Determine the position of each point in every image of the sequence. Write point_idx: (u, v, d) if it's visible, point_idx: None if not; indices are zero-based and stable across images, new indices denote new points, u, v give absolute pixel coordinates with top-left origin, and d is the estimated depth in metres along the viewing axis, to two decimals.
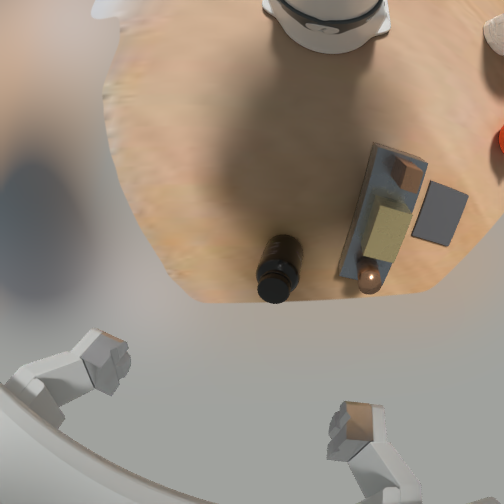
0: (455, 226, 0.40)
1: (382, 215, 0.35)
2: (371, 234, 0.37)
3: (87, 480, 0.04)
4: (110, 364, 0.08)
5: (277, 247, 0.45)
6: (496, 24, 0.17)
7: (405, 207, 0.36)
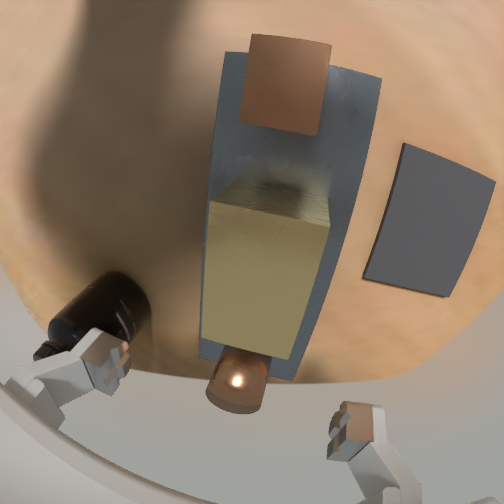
0: (467, 253, 0.17)
1: (223, 232, 0.12)
2: (205, 288, 0.14)
3: (87, 480, 0.04)
4: (110, 364, 0.08)
5: (81, 296, 0.22)
6: None
7: (317, 206, 0.13)
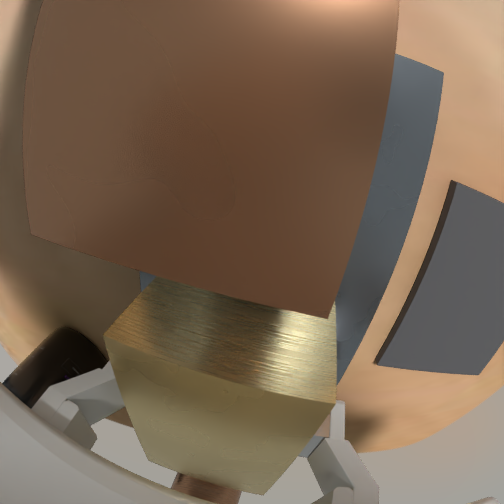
0: None
1: (137, 382, 0.06)
2: (136, 427, 0.07)
3: (87, 480, 0.04)
4: None
5: (30, 360, 0.15)
6: None
7: (316, 324, 0.07)
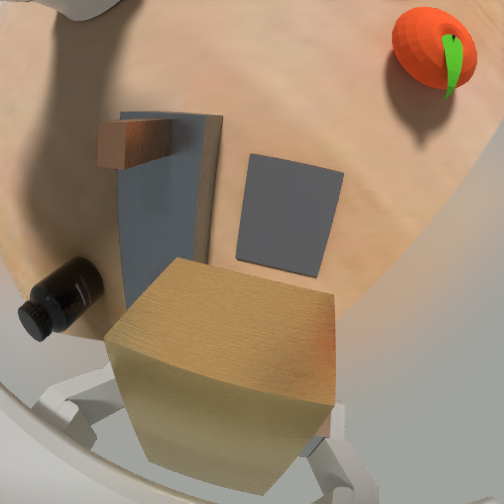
0: (324, 238, 0.25)
1: (138, 384, 0.06)
2: (137, 428, 0.07)
3: (87, 480, 0.04)
4: None
5: (54, 272, 0.29)
6: None
7: (315, 326, 0.07)
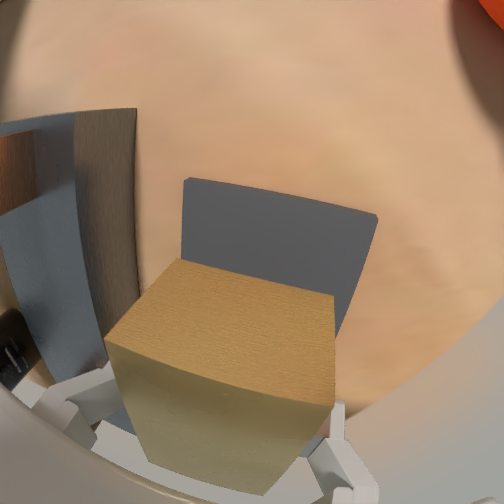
0: None
1: (138, 385, 0.06)
2: (137, 429, 0.07)
3: (87, 480, 0.04)
4: None
5: None
6: None
7: (315, 327, 0.07)
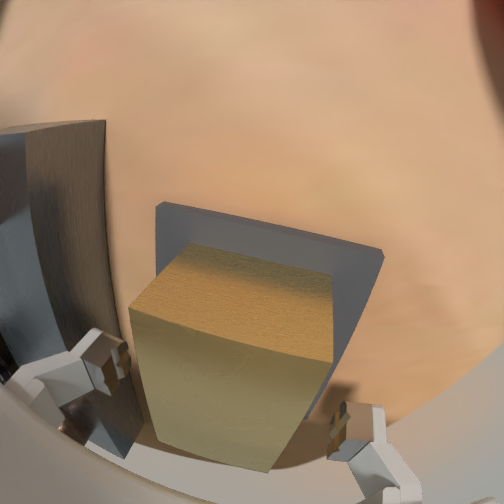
0: None
1: (157, 352, 0.07)
2: (150, 403, 0.09)
3: (87, 480, 0.04)
4: (110, 364, 0.08)
5: None
6: None
7: (315, 299, 0.08)
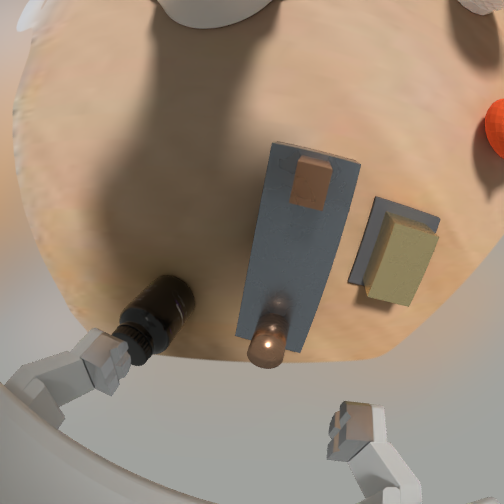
0: None
1: (397, 237, 0.24)
2: (380, 266, 0.25)
3: (87, 480, 0.04)
4: (110, 364, 0.08)
5: (148, 292, 0.32)
6: None
7: (427, 227, 0.25)
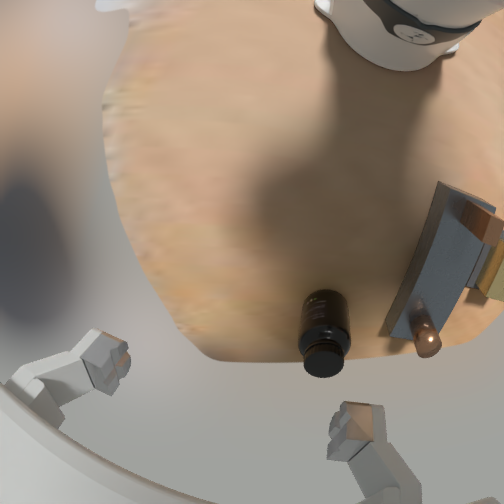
0: None
1: None
2: (496, 275, 0.28)
3: (87, 480, 0.04)
4: (110, 364, 0.08)
5: (324, 308, 0.36)
6: None
7: None
